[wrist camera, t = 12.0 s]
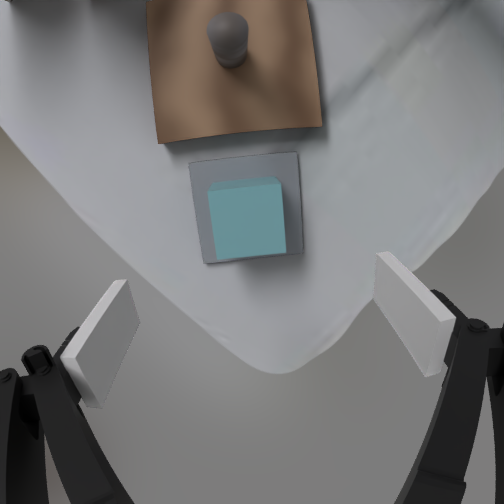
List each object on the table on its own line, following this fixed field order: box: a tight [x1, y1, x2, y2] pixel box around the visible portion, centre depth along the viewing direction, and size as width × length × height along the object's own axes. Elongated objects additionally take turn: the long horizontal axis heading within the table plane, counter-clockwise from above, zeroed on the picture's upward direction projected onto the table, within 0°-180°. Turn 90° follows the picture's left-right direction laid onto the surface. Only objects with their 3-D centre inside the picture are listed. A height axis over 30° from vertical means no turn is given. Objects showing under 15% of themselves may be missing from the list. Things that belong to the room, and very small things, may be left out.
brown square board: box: [146, 0, 322, 144], centre depth 23 cm, size 16×16×10 cm
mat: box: [189, 152, 303, 264], centre depth 33 cm, size 11×11×1 cm
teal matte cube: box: [207, 176, 286, 260], centre depth 31 cm, size 6×7×5 cm
